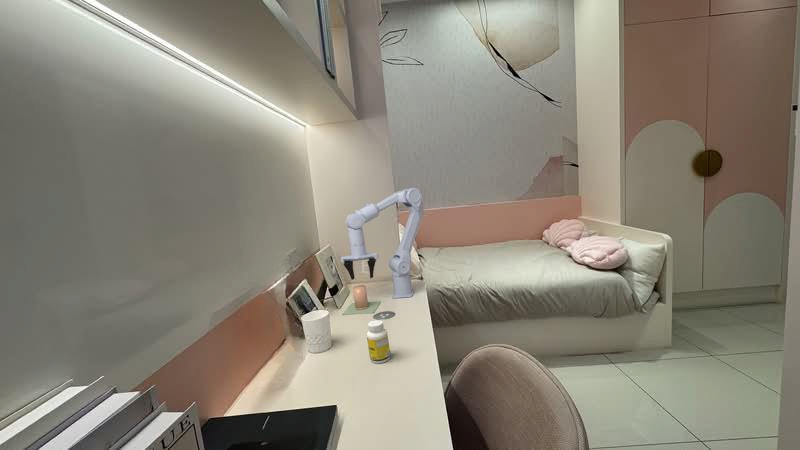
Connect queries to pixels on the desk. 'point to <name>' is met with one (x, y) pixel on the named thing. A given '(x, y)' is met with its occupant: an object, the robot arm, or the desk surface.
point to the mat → (370, 309)
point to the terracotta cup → (360, 297)
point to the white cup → (317, 331)
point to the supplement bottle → (378, 342)
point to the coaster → (384, 315)
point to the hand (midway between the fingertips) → (362, 278)
